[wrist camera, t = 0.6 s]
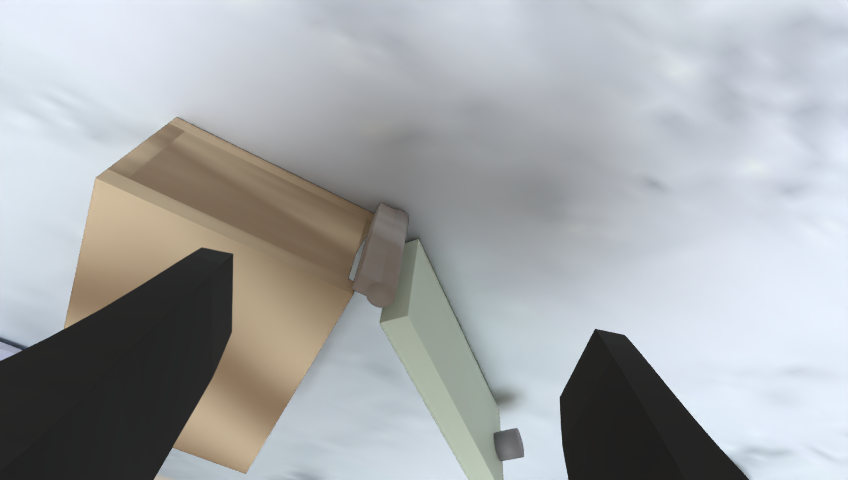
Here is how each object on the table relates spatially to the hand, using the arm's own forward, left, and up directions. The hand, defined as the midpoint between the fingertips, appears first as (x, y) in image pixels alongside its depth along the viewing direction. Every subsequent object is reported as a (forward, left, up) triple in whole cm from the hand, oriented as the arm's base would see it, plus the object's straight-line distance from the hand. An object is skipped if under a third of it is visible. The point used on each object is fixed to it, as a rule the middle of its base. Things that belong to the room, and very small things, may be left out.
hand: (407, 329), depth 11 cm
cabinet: (-9, +5, -10) cm, 14 cm away
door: (-7, -5, -10) cm, 13 cm away
